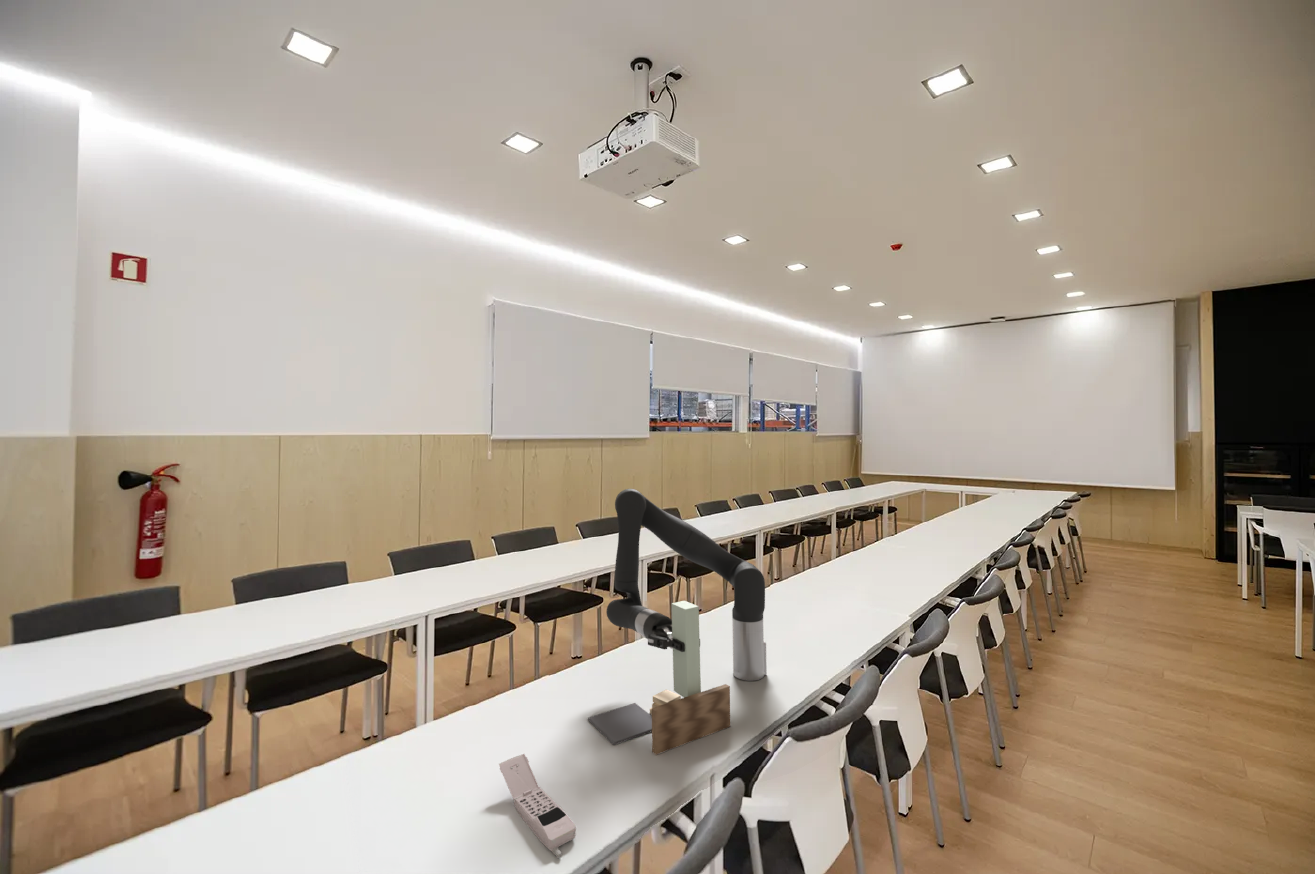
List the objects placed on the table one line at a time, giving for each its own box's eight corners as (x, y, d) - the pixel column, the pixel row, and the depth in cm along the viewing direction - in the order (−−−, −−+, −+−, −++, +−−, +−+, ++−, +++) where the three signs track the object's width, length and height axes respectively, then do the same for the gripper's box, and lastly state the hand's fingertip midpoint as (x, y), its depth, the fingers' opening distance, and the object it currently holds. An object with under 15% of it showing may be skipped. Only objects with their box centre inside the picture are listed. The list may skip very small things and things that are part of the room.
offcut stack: (664, 704, 150) (664, 687, 150) (684, 710, 146) (684, 693, 146) (649, 714, 144) (648, 697, 144) (669, 722, 141) (669, 704, 141)
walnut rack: (710, 713, 144) (709, 674, 144) (730, 726, 138) (729, 686, 138) (637, 738, 132) (637, 697, 132) (655, 754, 126) (655, 710, 126)
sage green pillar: (686, 686, 141) (684, 600, 141) (700, 695, 136) (698, 606, 136) (673, 690, 139) (671, 603, 139) (687, 699, 134) (685, 609, 134)
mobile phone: (523, 752, 118) (583, 812, 98) (524, 779, 118) (584, 846, 98) (496, 762, 114) (553, 828, 94) (497, 791, 114) (554, 863, 94)
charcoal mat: (635, 704, 149) (634, 702, 149) (663, 727, 138) (663, 724, 138) (587, 719, 142) (587, 717, 142) (613, 744, 130) (613, 742, 130)
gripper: (631, 617, 146) (667, 636, 132) (675, 607, 154) (714, 624, 140) (631, 646, 146) (667, 668, 132) (676, 634, 154) (714, 654, 140)
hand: (691, 645), depth 136 cm, fingers closed on sage green pillar, 4 cm apart
